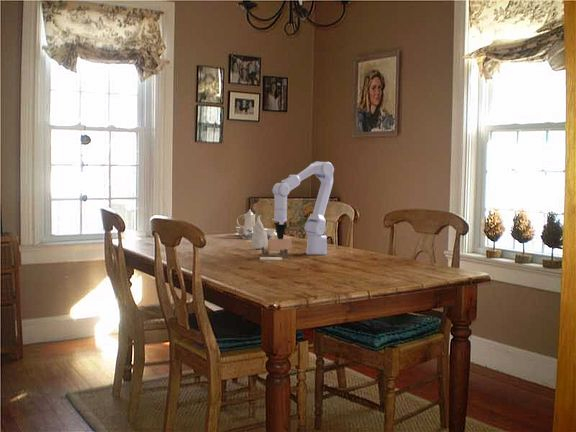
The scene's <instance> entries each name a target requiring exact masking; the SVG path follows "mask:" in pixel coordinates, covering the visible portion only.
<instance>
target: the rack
mask: <svg viewBox="0 0 576 432" xmlns="http://www.w3.org/2000/svg"><path fill="white" fill-rule="evenodd" d="M288 250H289V249H279V252H270V248H265V249H264V247H262V249H261V257H282V258H289V255H288Z"/></svg>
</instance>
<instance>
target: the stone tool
mask: <svg viewBox="0 0 576 432" xmlns="http://www.w3.org/2000/svg"><path fill="white" fill-rule="evenodd" d="M264 228H265V227H264V224H263V223H262V221H261V219H260V220H259V219H258V220H255V226H254V231H253V235H252V239H251V242H250V243H251V245H250V246H251V249H253V250H262V247H264V250H265V249H268V246H269V241H268V238H267V233H266V230H265V229H264Z"/></svg>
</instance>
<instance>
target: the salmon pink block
mask: <svg viewBox="0 0 576 432" xmlns="http://www.w3.org/2000/svg"><path fill="white" fill-rule="evenodd" d="M292 243H293V239H292V237H291V236H289V237H284V236H283V239H278V237H273V238H269V251H270V250H273V251H275V250H280V249H283V250H284V249H287V250H292V249H293V247H292V246H293V244H292Z"/></svg>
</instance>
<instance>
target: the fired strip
mask: <svg viewBox="0 0 576 432" xmlns="http://www.w3.org/2000/svg"><path fill="white" fill-rule="evenodd" d="M259 260H260V261H261V260H262V261H264V260H265V261H283V257H262V256H259Z"/></svg>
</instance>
